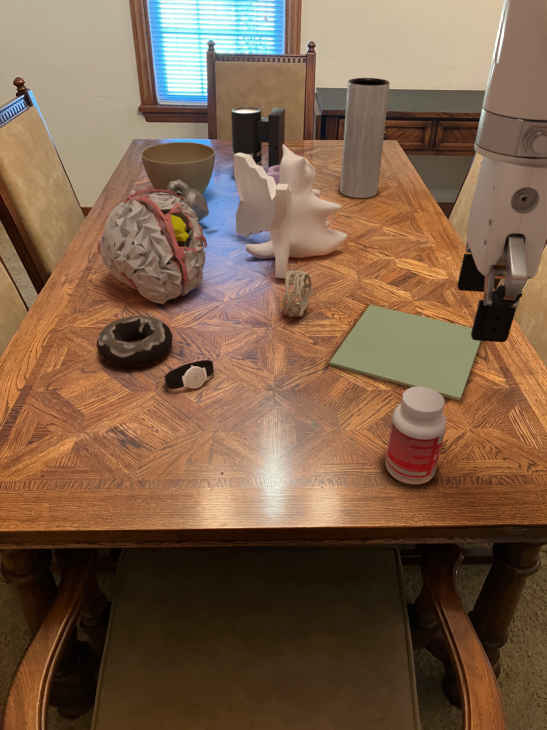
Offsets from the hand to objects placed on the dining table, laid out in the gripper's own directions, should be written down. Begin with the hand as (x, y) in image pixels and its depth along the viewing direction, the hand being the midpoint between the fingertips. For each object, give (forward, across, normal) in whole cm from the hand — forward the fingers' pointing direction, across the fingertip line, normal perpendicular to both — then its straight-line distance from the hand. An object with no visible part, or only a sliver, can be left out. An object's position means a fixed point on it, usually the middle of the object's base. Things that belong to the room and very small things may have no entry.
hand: (479, 313), depth 57 cm
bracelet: (+23, +36, +21) cm, 47 cm away
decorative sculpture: (+23, +42, +48) cm, 68 cm away
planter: (+23, +102, +11) cm, 105 cm away
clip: (+23, +89, +31) cm, 97 cm away
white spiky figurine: (+23, +61, +24) cm, 69 cm away
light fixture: (+23, +110, +40) cm, 119 cm away
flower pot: (+23, +89, +56) cm, 108 cm away
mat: (+23, +27, +2) cm, 35 cm away
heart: (+23, +71, +49) cm, 90 cm away
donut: (+23, +20, +45) cm, 55 cm away
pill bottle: (+23, 0, +4) cm, 23 cm away
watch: (+23, +14, +35) cm, 44 cm away
